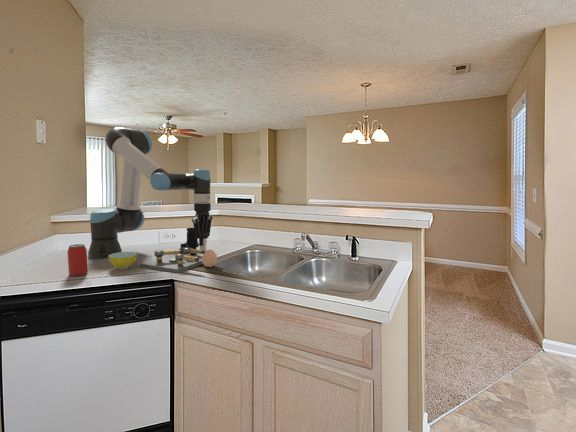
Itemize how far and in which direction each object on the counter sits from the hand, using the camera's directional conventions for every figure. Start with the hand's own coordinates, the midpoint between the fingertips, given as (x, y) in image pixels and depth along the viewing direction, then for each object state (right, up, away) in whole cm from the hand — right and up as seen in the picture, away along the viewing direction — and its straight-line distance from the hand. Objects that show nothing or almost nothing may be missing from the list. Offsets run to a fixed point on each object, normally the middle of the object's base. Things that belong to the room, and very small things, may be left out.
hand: (203, 252), depth 160 cm
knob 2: (-3, -5, -14) cm, 15 cm away
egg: (+5, -6, -8) cm, 11 cm away
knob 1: (-4, -3, -1) cm, 5 cm away
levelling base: (-12, -5, -5) cm, 14 cm away
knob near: (-14, -3, -5) cm, 16 cm away
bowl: (-32, -6, -12) cm, 35 cm away
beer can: (-46, -7, -22) cm, 51 cm away
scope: (-11, -3, +16) cm, 20 cm away
